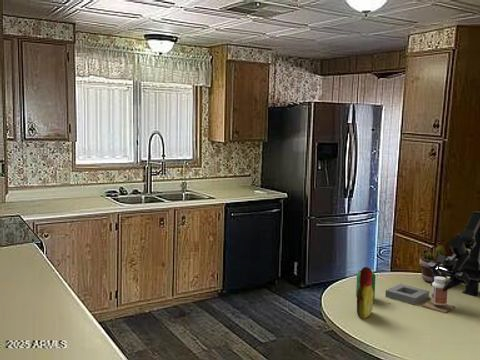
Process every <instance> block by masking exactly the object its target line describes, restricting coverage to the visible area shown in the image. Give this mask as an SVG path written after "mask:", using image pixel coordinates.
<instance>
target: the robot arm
mask: <svg viewBox="0 0 480 360" xmlns="http://www.w3.org/2000/svg"><path fill="white" fill-rule="evenodd" d="M448 244H449V247H450V250H451V252H452V255H451V256H446V255H445V256H442V255H439V256H438V258H437V261H436V262H439V263H441V266H443V268H441V267H440V266H439V264H438V263H435V262H429V264H428V265H427V266H428V267H429V268H430V270H431V271H432V272H433V277H432V281H431V283H430V286H431V287H432V283H433V282H435V281H434V277H436V276H440V277H442V276H441V275H440V274H442V273H445V274H447V275H448V276H449V279H448V280H447V281H446V282H445V283H446V285H445V286H444V288H443V291H446V290H447V291H449V290H450V289H452V288H454V287H457V286H461V285H462V284H463V285H464V289H463V290H462V291H461V292H462V293H463V294H466V295H471V296H475V297H477V296H479V295H480V291H479V290H480V289H479V288H480V211H476V210H475V211H471V213H470V217H469V220H468V222H467V224H466V226H465V228H464V229H463V230H462V231H460V232H459V233H458V234H456V235H455V236H454V237H451V238H450V240H449V241H448ZM468 249H469V250H470V251H469V250H468Z"/></svg>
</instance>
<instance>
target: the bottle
mask: <svg viewBox="0 0 480 360" xmlns="http://www.w3.org/2000/svg"><path fill="white" fill-rule="evenodd" d="M360 271H361V275H360V287H359V289H358V292H357V297H356V314H357V316H358V317H359V318H361V319H366V318H368V317H369V316H370V315H371V314H372V311H373V305H374V304H373V302H374V299H373V295H374V292H373V289H372V286H371V283H372V282H371V281H372V272H373V271H372V269H371V268H370V267H367V266H365V267H362V268H361V270H360Z"/></svg>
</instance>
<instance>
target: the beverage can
mask: <svg viewBox="0 0 480 360" xmlns="http://www.w3.org/2000/svg"><path fill="white" fill-rule="evenodd" d="M360 275H361V270H358V272H357V274H356V285H355V287H356V288H355V290H356V291H355V297H356V298H357V292H358V289H359V287H360ZM371 282H372V283H371V286H372V289H373V292H374V295H373V300H374V299H375V294H376V293H375V292H376V291H375V290H376V274H375V272H374V271H372V281H371Z"/></svg>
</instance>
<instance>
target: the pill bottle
mask: <svg viewBox="0 0 480 360" xmlns="http://www.w3.org/2000/svg"><path fill="white" fill-rule="evenodd" d="M434 281H435V282H433V283H432V286H431V299H430V301H431V302H432V303H433V304H436V305H446V304H448V300H447V299H448V290H446V291H443V288H444V286H445V285H446V283H447V279H446V278H445V277H440V276H436V277H434Z"/></svg>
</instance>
